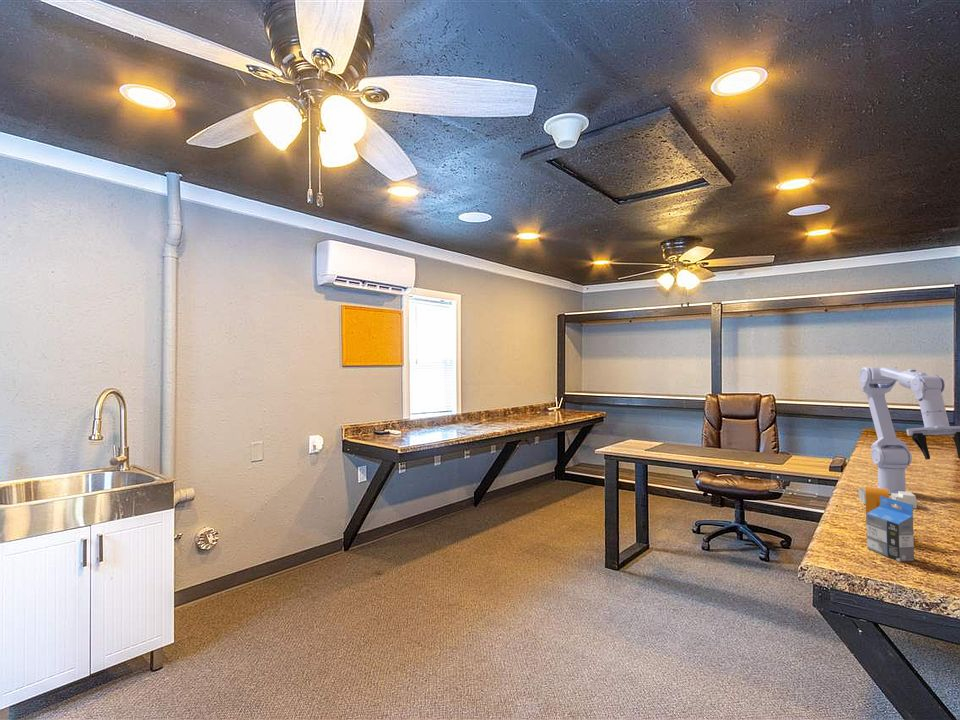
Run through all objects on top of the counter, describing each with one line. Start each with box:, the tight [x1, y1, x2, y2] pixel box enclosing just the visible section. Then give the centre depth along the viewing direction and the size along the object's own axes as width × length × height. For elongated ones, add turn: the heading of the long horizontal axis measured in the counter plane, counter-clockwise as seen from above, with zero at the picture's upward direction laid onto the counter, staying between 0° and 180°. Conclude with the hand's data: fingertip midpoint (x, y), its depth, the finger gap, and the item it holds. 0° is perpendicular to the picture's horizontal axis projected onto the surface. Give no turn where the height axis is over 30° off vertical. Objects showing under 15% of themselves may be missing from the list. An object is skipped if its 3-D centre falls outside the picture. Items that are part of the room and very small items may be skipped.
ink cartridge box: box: [865, 496, 915, 563], centre depth 117 cm, size 9×4×12 cm, turn 4°
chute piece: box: [890, 491, 918, 509], centre depth 161 cm, size 6×5×4 cm
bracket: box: [865, 486, 890, 535], centre depth 130 cm, size 11×7×12 cm, turn 142°
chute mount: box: [858, 487, 894, 507], centre depth 164 cm, size 10×7×4 cm
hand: (944, 458), depth 152 cm, fingers open, 7 cm apart
